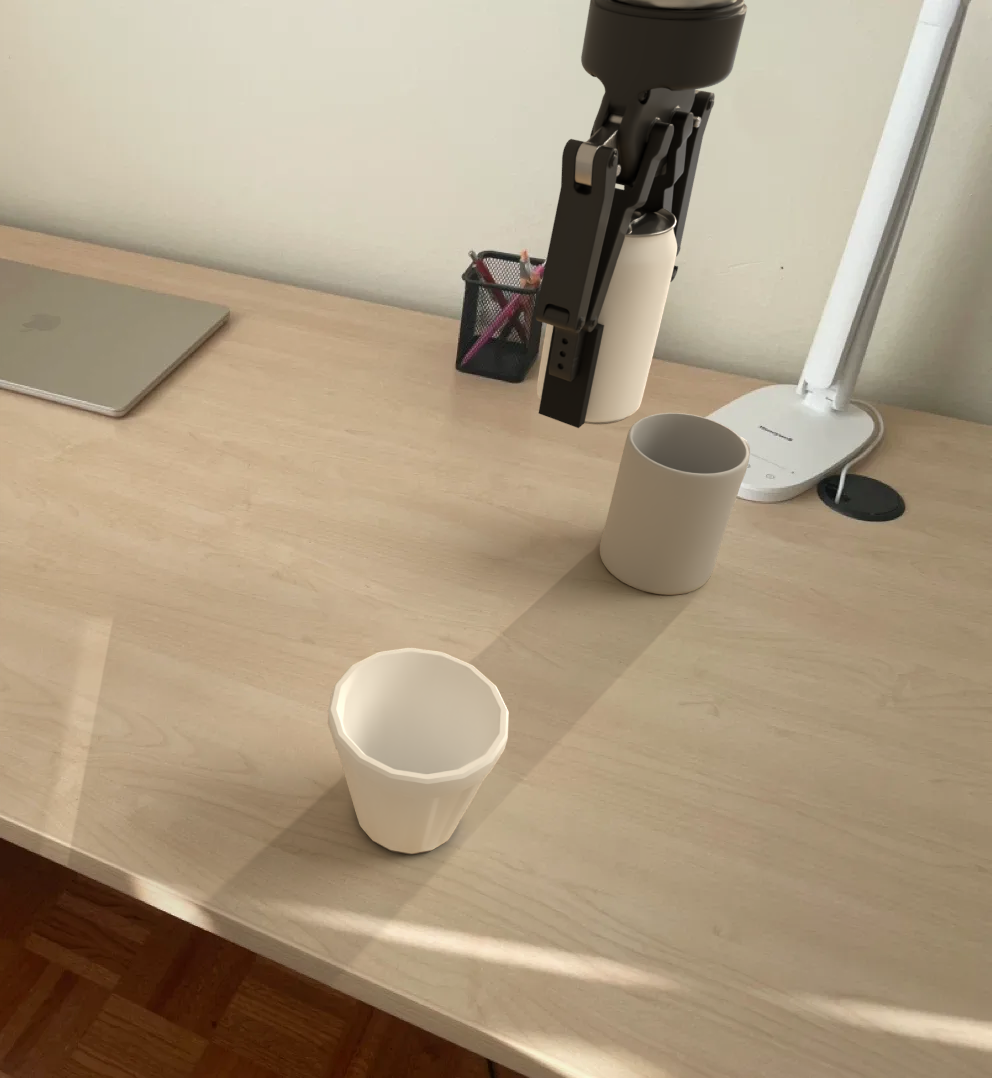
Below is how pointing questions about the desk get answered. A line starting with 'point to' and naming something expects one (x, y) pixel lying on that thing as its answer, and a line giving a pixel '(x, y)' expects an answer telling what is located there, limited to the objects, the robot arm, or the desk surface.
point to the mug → (672, 502)
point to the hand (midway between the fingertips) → (588, 394)
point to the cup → (415, 743)
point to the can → (629, 318)
